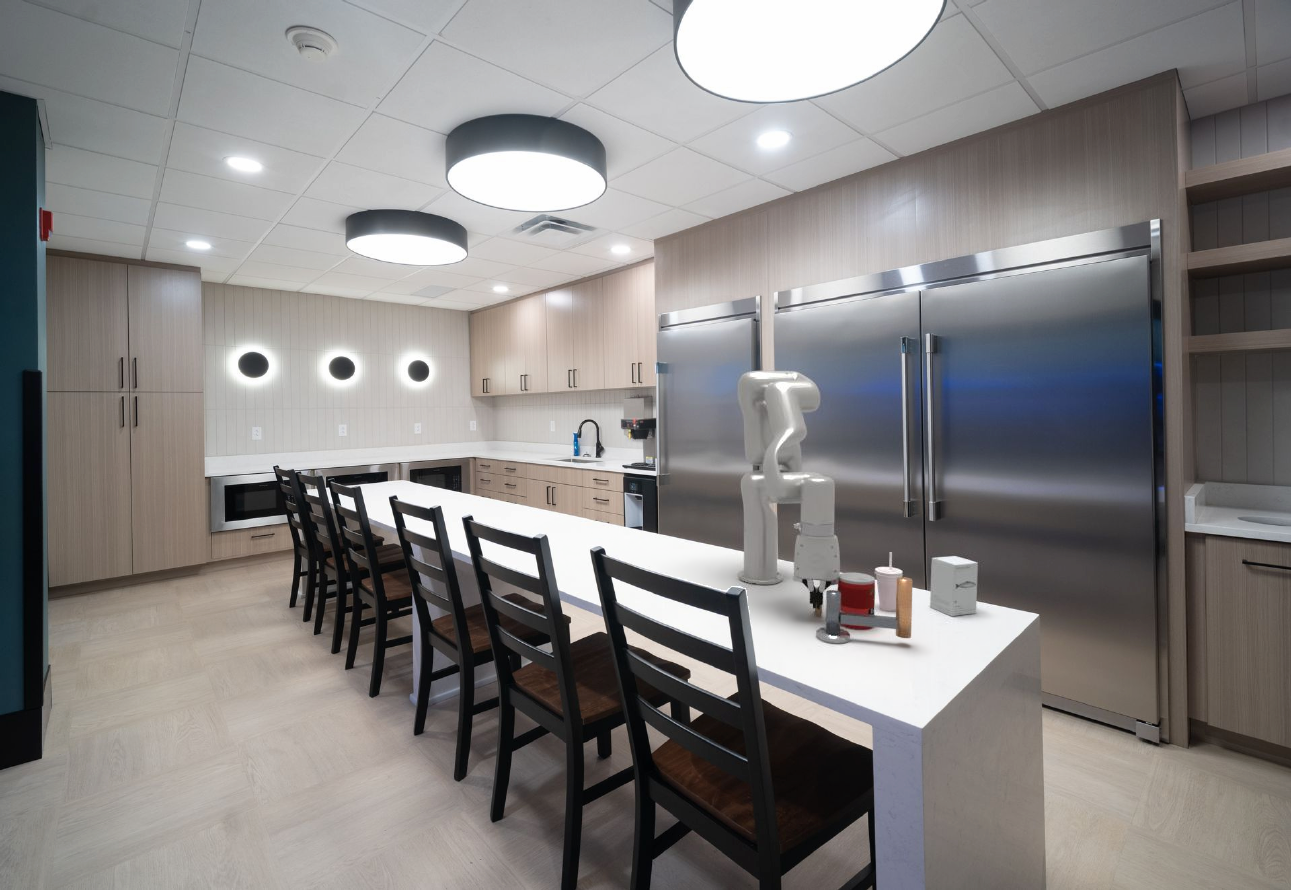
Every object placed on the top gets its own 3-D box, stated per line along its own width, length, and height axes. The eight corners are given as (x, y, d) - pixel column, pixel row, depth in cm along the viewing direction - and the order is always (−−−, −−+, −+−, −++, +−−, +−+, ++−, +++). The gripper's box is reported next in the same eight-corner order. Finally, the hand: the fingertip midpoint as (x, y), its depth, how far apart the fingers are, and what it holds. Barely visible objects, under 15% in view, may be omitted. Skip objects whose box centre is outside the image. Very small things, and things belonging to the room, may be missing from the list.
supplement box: (952, 617, 140) (953, 564, 139) (929, 607, 147) (930, 557, 146) (977, 614, 142) (978, 562, 141) (953, 604, 149) (954, 554, 149)
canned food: (877, 631, 132) (877, 582, 131) (839, 628, 133) (840, 580, 133) (871, 619, 139) (871, 573, 139) (835, 617, 141) (836, 571, 140)
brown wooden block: (815, 611, 145) (815, 587, 144) (822, 612, 144) (822, 587, 144) (814, 616, 141) (815, 592, 141) (821, 617, 140) (822, 592, 140)
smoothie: (907, 611, 145) (909, 554, 144) (887, 614, 142) (888, 557, 141) (888, 603, 151) (889, 548, 150) (868, 606, 148) (869, 551, 147)
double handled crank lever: (910, 637, 125) (911, 577, 124) (912, 642, 122) (913, 581, 121) (825, 628, 130) (826, 571, 129) (825, 633, 127) (826, 575, 126)
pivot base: (816, 630, 133) (816, 625, 133) (849, 633, 131) (849, 629, 131) (815, 641, 126) (815, 637, 126) (850, 645, 124) (850, 641, 124)
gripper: (782, 531, 136) (782, 609, 137) (851, 534, 132) (850, 615, 133) (785, 524, 143) (784, 599, 145) (850, 528, 139) (849, 605, 140)
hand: (816, 607), depth 139 cm, fingers closed
